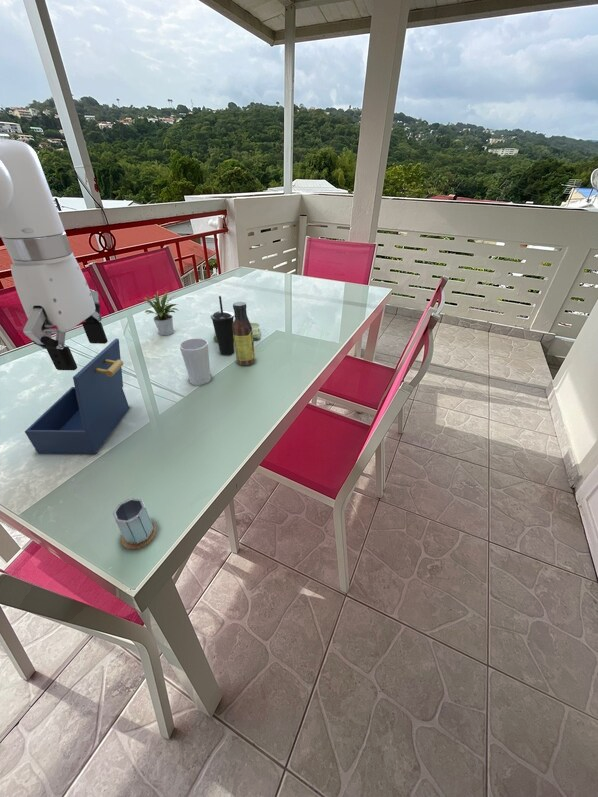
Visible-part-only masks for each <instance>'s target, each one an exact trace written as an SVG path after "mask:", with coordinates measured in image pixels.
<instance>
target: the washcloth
mask: <svg viewBox="0 0 598 797" xmlns="http://www.w3.org/2000/svg"><path fill="white" fill-rule="evenodd" d="M250 324H251V326H252V332H253V341H255V340H259V339H260V337H261V336H260V334H261V329H260V323H257V322H250ZM213 340H214V342H217V338H216V333H215V332H214V334H213Z"/></svg>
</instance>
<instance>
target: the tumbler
mask: <svg viewBox="0 0 598 797" xmlns="http://www.w3.org/2000/svg"><path fill="white" fill-rule="evenodd" d="M112 515H113V518H114V521H115V523H116V526H117V527H118V530H119V531H120V533H121V536H122V535H123V537H124V539H125V541H126V542H127V543H129V544H131V545H138V544H141V543H143V542H145V541H146V540H148V539H149V538H150V536H151V535H152V533H153V525H152V523H151V521H152V520H151V517H150V515H149V513H148V511H147V509H146V506H145V503H144V502H143V500H142V499H141V498H135V497H131V498H128V499H126V500H124V501H121V502H120V503H118V505H117V506H116V508H115V509H114V510H113V513H112Z"/></svg>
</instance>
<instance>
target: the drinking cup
mask: <svg viewBox="0 0 598 797" xmlns="http://www.w3.org/2000/svg"><path fill="white" fill-rule="evenodd" d="M218 300H219V309H220V310H218V311H215V312H213V313H212V314H210V319H211V321H212V325H213V330H214V334H215V333H216V338H217V341H216V342H217V345H218V349H219V353H220V355H222V356H231V355H233V354H235V345H234V337H233V322H234V318H235V313H233V312H232V311H228V310H223V301H222V295H218Z"/></svg>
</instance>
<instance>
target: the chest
mask: <svg viewBox="0 0 598 797" xmlns="http://www.w3.org/2000/svg"><path fill="white" fill-rule="evenodd" d="M129 410H130V405H129V403H128V400H127V396H126V394H125V391H124V388H123V387H122V388H121V390H120V391H119V392H118V393H117V395H116V396H115V397H114V398H113V399H112V401H111V402H110V403H109V404H108V405H107V407H106V408H105V409H104V410H103V411H102V413H101V414H100V415H99V416H98V417H97V419H96V420H95V421H94V422H93V424H92V425H91V426H90V427H89V428H88V430H87V431H84V430H83V427H82V422H81V417H80V412H79V406H78V401H77V396H76V391H75V386H72V387H70V388H69V389H68V390H67V391H65V393H64V394H62V395H61V397H59V398H58V399H57V400H56V401H55V402H54V403H53V404H52V405H51V406H50V407H49V408H47V409H46V410H45V412H44V413H43V414H41V415H40V416H39V417H38V418H37V419H36V420H35V421H34V422H33V423H31V425H30V426H29V427H28V428H26V429H25V430H24V433H25V434H26V436H27V438H28V440H29V441H30V443H31V445H32V447H33V448H34V450H35V452H36V453H37V454H38V455H97V454H98V452H99V451H100V449H101V448H102V447H103V446H104V444H105V443H106V441H107V440H108V439H109V437H110V436H111V434H112V433H113V431H114V430H115V429H116V427H117V426H118V425H119V423H120V422H121V421H122V419H123V418H124V416H125V415H126V413H127V412H128V411H129Z"/></svg>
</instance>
